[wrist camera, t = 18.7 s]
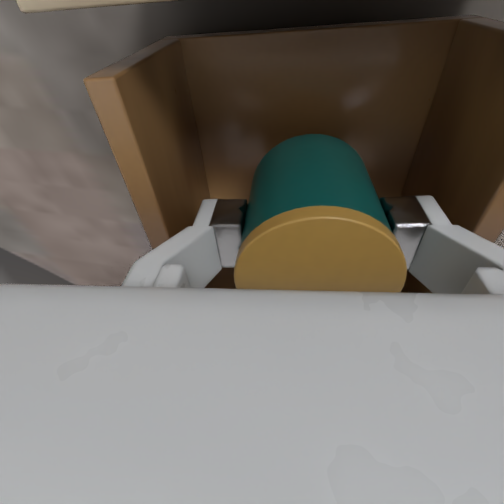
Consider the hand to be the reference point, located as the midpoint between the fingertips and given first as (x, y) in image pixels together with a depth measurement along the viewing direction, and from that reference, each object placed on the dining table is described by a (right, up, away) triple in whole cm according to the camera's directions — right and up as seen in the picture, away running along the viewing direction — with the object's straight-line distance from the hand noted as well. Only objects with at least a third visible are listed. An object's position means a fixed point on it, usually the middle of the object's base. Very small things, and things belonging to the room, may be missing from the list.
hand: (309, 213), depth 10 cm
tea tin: (0, +1, +1) cm, 2 cm away
